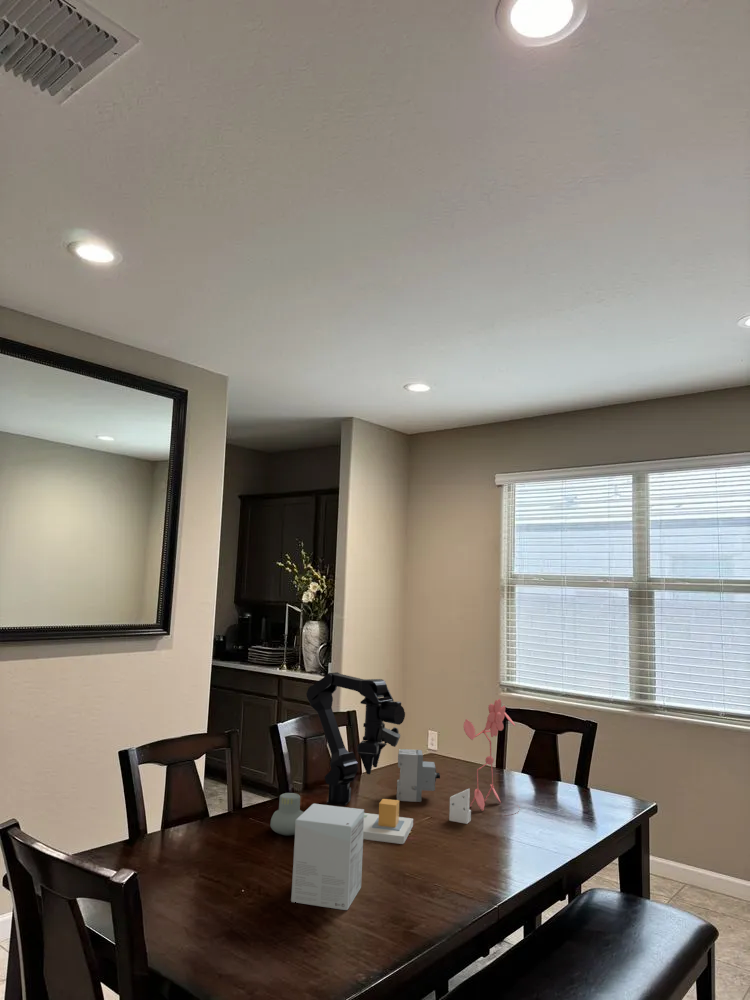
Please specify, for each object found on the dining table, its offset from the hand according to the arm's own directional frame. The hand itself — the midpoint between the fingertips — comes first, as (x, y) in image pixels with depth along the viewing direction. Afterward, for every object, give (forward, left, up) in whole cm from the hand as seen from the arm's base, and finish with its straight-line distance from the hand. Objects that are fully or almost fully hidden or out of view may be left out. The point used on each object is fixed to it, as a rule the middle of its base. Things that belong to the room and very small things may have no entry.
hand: (371, 770), depth 217 cm
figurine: (+38, +18, -13) cm, 44 cm away
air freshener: (-18, -26, -13) cm, 34 cm away
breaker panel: (+5, -16, -12) cm, 21 cm away
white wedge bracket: (+28, +2, -13) cm, 31 cm away
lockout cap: (+9, -16, -10) cm, 21 cm away
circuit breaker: (+12, +20, -13) cm, 27 cm away
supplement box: (+4, -61, -13) cm, 62 cm away
